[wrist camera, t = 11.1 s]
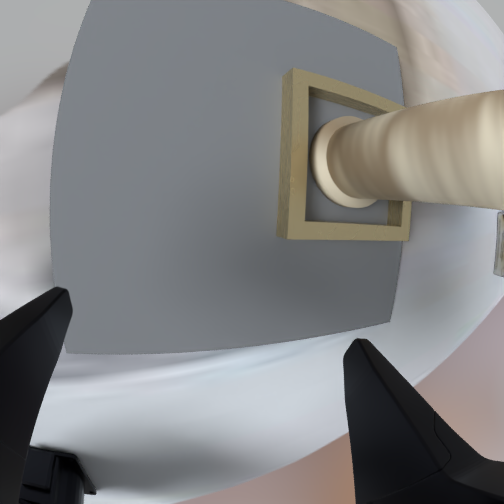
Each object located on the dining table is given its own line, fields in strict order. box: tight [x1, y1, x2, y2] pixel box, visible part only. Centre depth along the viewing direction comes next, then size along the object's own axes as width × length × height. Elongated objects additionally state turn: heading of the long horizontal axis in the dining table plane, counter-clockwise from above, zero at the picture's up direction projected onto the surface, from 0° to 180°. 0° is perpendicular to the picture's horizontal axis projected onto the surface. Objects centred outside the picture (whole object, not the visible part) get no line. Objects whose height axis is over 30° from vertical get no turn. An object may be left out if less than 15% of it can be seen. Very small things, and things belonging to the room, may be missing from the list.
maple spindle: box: [309, 90, 504, 210], centre depth 12 cm, size 6×6×12 cm
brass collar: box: [276, 68, 412, 241], centre depth 17 cm, size 10×10×2 cm
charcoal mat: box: [50, 0, 404, 354], centre depth 16 cm, size 24×24×1 cm
